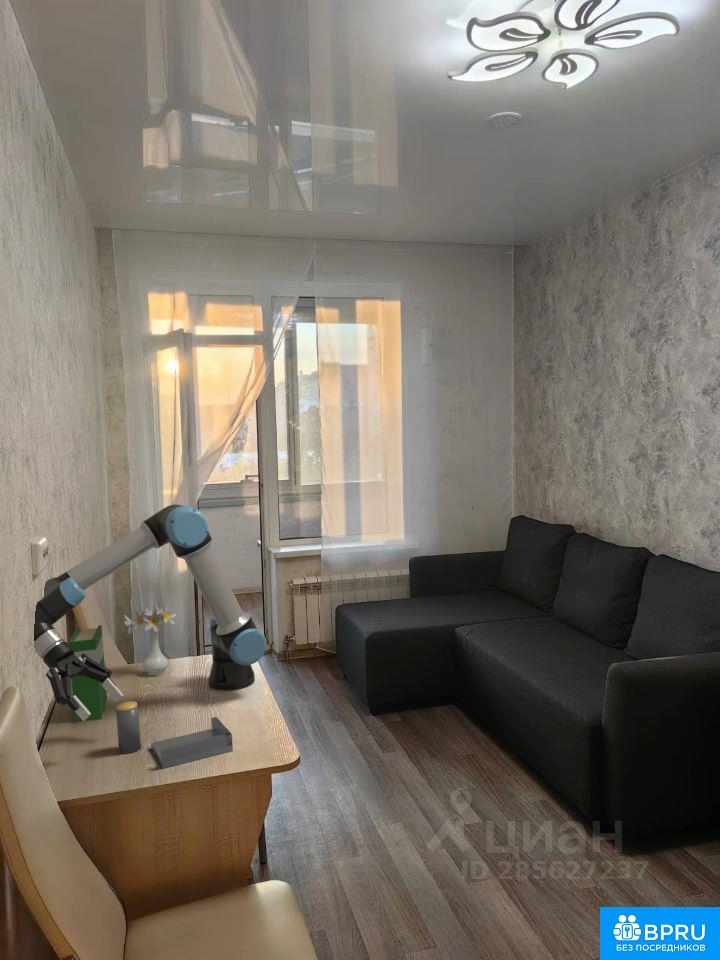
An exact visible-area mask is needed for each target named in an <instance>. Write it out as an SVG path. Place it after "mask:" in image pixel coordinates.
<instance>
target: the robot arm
mask: <svg viewBox="0 0 720 960" xmlns="http://www.w3.org/2000/svg"><path fill="white" fill-rule="evenodd" d="M212 541H213V538H212V536H211V534H210V532H209V524H208V520H207V518H206V516H205V515H204V514H203V512H201V511H200V510H199V509H197V508H195V507H193V506H189V505H188V506H187V505H181V504H170V505H167V506H165V507H164V508H162V509H160V510H159V511H157V512H156V513H154V514H153V515H151V516H149V517H148V518H147V519H145V520H143V521H141V522H140V526H139V527H138V528H136V529H134V530H133V531H132V532H130V533H128V534H126V535H125V536H123V537H121V538H120V539H118V540H116V541H115V542H113V543H111V544H110V545H108V546H106V547H105V548H103V549H102V550H100V551H98V552H96V553H95V554H93V555H91V556H90V557H88V558H87V559H85V560H83V561H82V562H80V563H78V564H76V565H75V566H73V567H72V568H70V569H69V570H68V569H67V570H66V571H65V572H64V573H62V574H60V575H58V576H57V577H56V576H55V577H51V578H49V579H47V580H46V581H45V582H46V583H45V582H44V583H45V587H44V597H43V596H42V598H41V599H40V600H39V601H37V602H36V603H37V605H36V611H35V624H34V641H35V642H34V648H35V651H34V652H35V653H36V654H37V655H38V657H39V658H40V659H43V660H42V661H43V663H44V664H45V665H46V666H47V667H48V668H49V669H48V671H47V672H46V673H45V676H46V677H47V679H48V680H49V683H50V686H51V690H52V693H53V696H54V699H55V702H56V704H58V705H60V704H61V705H62V706H65V705H67V706H68V708H70V709H71V711H73V712H74V711H75V712H76V713H77V714H78V716H79V717H80V718H81V719H82V720H83V722H86V721H85V720H86V719H87V718H88V717H89V716H90V714H91V713H90V712H89V711H88V710H87V708H86V707H85V706H84V705H83V704H82V703H81V701H80V700H79V699H78V698H77V697H76V696H75V695H74V696H73V692H72V678H73V677H76V676H78V675H79V676H82V675H83V676H86V677H88V678H91V679H94V680H96V681H99V682H102V683H103V684H102V686H103V688H104V689H105V690H106V691H107V694H109V696H110V697H111V698H112V700H114V702H115V703H118V702H119V701H120V700H121V699H122V698H123V696H124V694H123V692H121V690H120V689H119V688H118V687H117V685H116V683H115V682H114V681H113V680H112V678H111V676H112V674H113V671H112V670H110V669H109V668H107V667H104V666H102V665H100V664H99V663H97V662H95V661H94V660H92V659H90V658H89V657H88V656H87V655H86V654H85V653H83V654H82V655H81V656H80V657H79V658H78V657H76V656H75V655H74V650H73V648H72V647H71V646H70V645H69V642H67V641H65V637H63V635H62V634H61V633H60V632H59V631H58V630H57V629H56V628H55V627H54V625H55V623H57V622H58V621H59V620H60V619H62V618H63V617H64V616H66V615H67V614H68V613H69V612H70V611H72V610H73V609H74V608H76V607H77V606H78V605H80V603H81V602H83V601H84V599H86V597H87V593H86V592H85V590H87V589H88V588H90V587H92V586H93V585H95V584H97V583H98V582H100V581H101V580H103V579H104V578H106V577H108V576H110V575H111V574H112V573H114V572H116V571H118V570H119V569H121V568H122V567H124V566H125V565H128V564H129V563H131V562H132V561H134V560H135V559H137V558H138V557H141V556H142V555H143V554H145V553H147V552H148V551H150V550H152V549H160V548H161V547H162V546H164V545H166V544H170V546H171V547H172V550H173V552H174V553H175V556H176V558H179V559H182V560H184V562H185V563H186V565H187V568H188V569H189V572H190V573H191V575H192V578H193V579H194V581H195V583H196V585H197V588H198V589H199V591H200V593H201V595H202V597H203V599H204V601H205V603H206V604H207V606H208V609H209V610H210V613H211V614H212V616H213V617H211V618H210V622H209V630H210V640H211V644H210V645H211V655H212V657H211V658H212V664H211V667H210V671H209V675H208V686H209V687H208V688H210V689H212V690H215V691H235V690H240V689H244V688H247V687H249V686H252V685H253V684H254V683H255V682H254V681H256V678H255V677H256V676H255V672H254V669H253V666H252V665H253V664H256V663H257V662H259V660H261V658H262V657H263V655H264V654H265V652H266V649H267V639H266V637H265V634H264V633H263V632H262V631H261V630H260V629H258V628H257V625H256V624H255V622H254V620H253V618H252V616H251V614H250V613H249V612H245V611H243V609H242V607H241V606H240V603H239V600H238V599H237V597H236V595H235V594H234V592H233V590H232V588H231V585H230V584H229V581H228V579H227V577H226V576H225V573H224V571H223V570H222V567H221V565H220V563H219V562H218V559H217V557H216V555H215V553H214V552H213V550H212V547H211V544H212V543H213V542H212ZM81 667H82V668H81ZM102 677H103V678H102Z"/></svg>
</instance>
